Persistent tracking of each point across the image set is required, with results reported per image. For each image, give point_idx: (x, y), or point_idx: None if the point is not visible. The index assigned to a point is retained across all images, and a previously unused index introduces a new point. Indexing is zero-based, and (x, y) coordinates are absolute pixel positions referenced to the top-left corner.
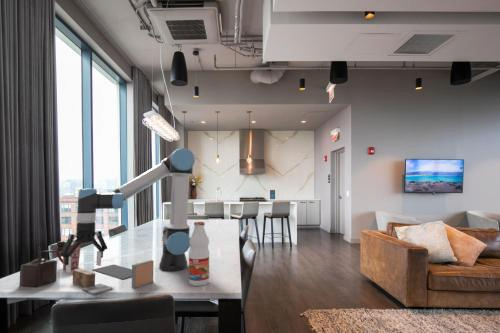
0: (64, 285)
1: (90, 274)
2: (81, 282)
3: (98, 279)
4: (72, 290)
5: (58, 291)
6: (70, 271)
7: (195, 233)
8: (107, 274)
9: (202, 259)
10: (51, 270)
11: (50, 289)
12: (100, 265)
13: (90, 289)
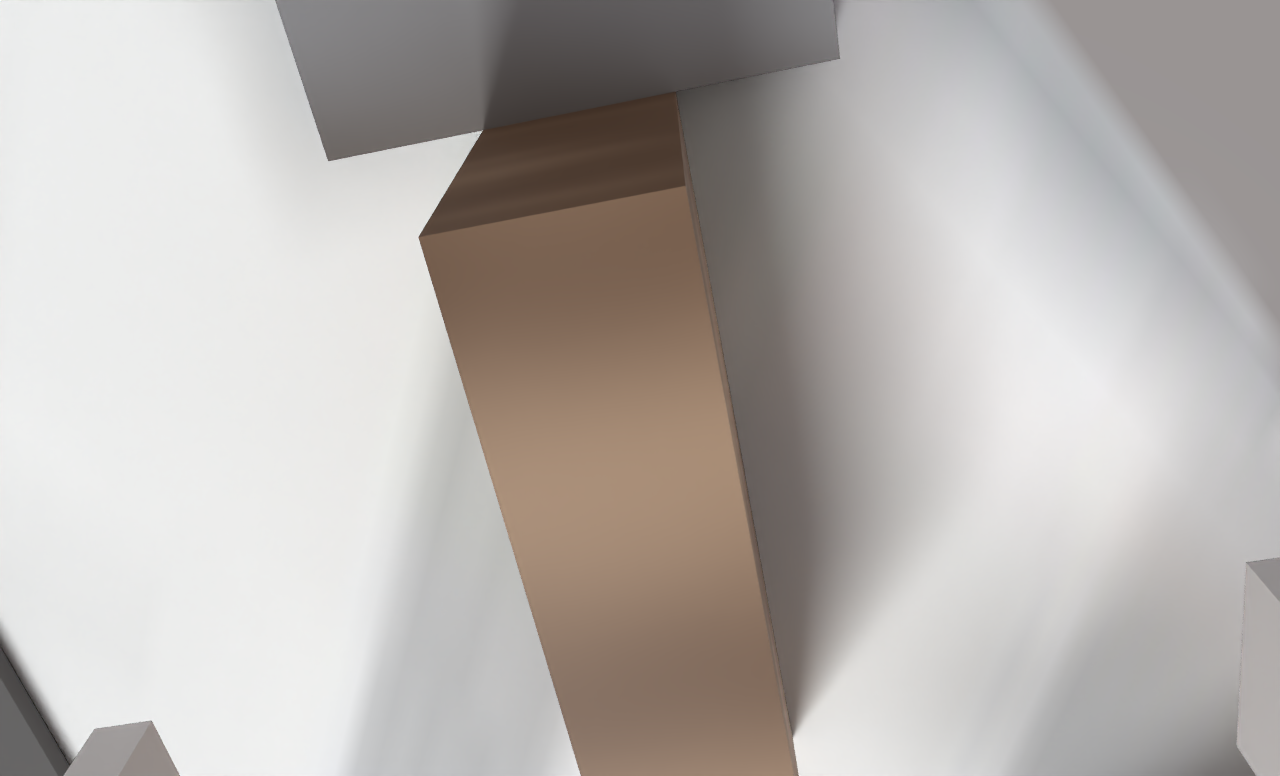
0: (971, 685)
1: (603, 204)
2: (739, 449)
3: (292, 600)
4: (997, 231)
5: (1229, 392)
6: (1263, 586)
7: None
8: (56, 762)
9: None
10: None
11: None
12: (105, 731)
13: None
